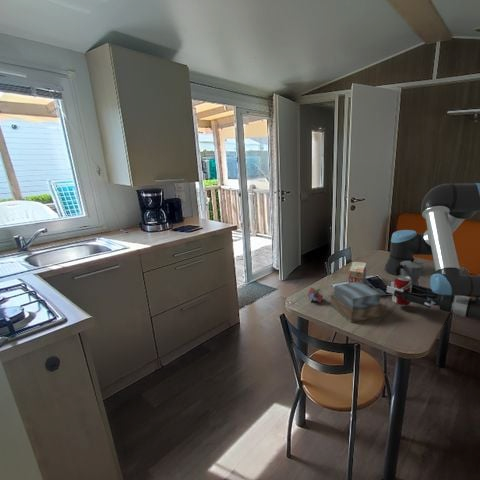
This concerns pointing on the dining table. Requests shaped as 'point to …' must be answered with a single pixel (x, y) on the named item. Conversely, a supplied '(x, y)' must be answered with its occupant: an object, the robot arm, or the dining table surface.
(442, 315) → the dining table surface
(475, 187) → the robot arm
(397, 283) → the soda can
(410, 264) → the coffeepot
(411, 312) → the dining table surface
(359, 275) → the stack of blocks
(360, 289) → the grey brown square block
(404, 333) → the dining table surface
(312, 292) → the geometric puzzle
